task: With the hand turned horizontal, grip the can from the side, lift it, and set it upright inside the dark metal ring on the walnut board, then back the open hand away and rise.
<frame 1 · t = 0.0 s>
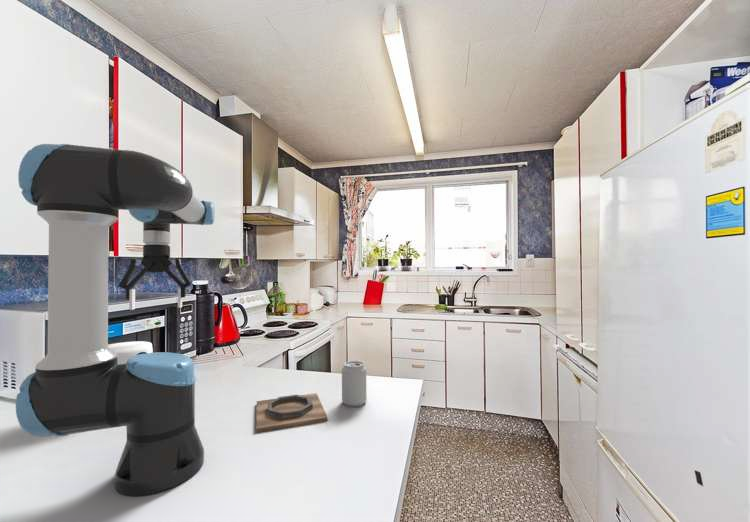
hand: (156, 308, 110), 28 cm above the worktop, tool pointing down, fingers open, 13 cm apart
can: (354, 403, 100), on the worktop
ring board: (290, 412, 94), on the worktop
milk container: (121, 408, 98), on the worktop
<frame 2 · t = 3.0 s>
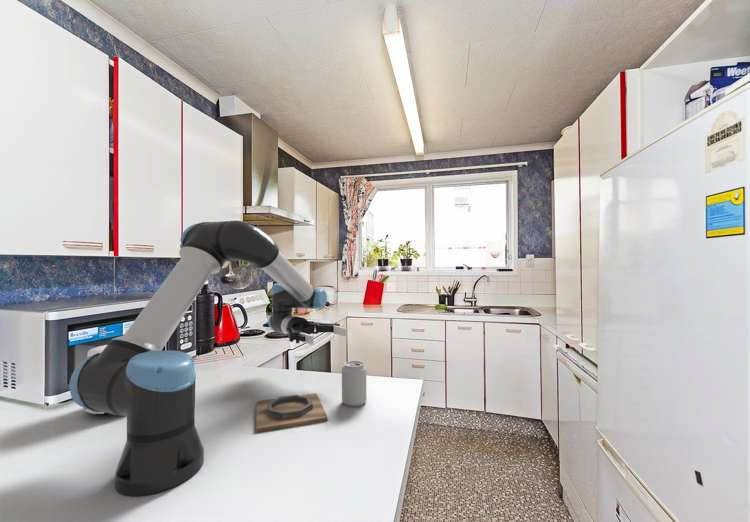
hand: (330, 336, 108), 19 cm above the worktop, tool horizontal, fingers open, 13 cm apart
nothing on the worktop moved.
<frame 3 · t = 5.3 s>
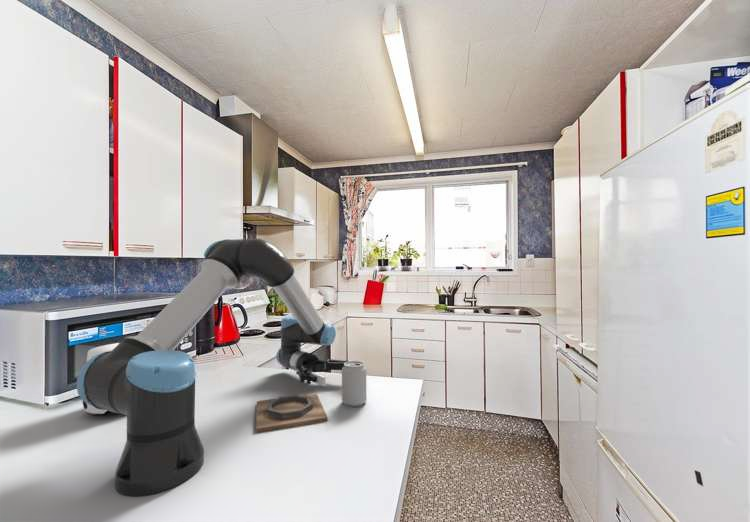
hand: (341, 376, 105), 6 cm above the worktop, tool horizontal, fingers open, 13 cm apart
nothing on the worktop moved.
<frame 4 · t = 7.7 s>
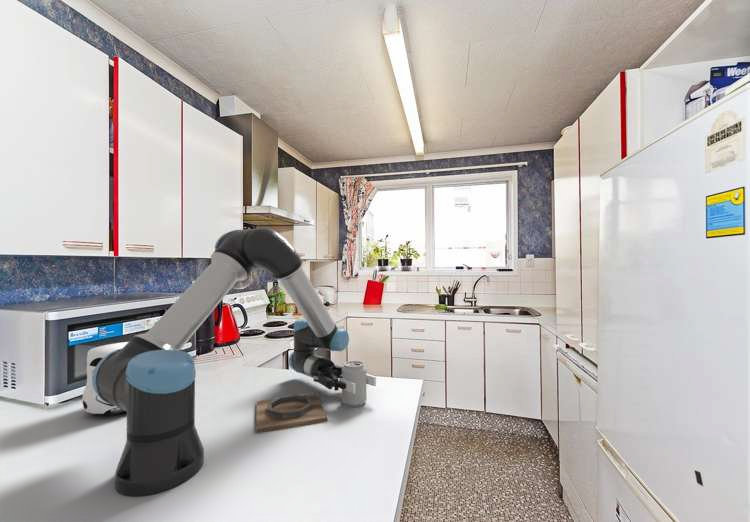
hand: (365, 384, 97), 7 cm above the worktop, tool horizontal, fingers closed on can, 7 cm apart
can: (354, 403, 100), on the worktop, touching gripper
everything else where it was.
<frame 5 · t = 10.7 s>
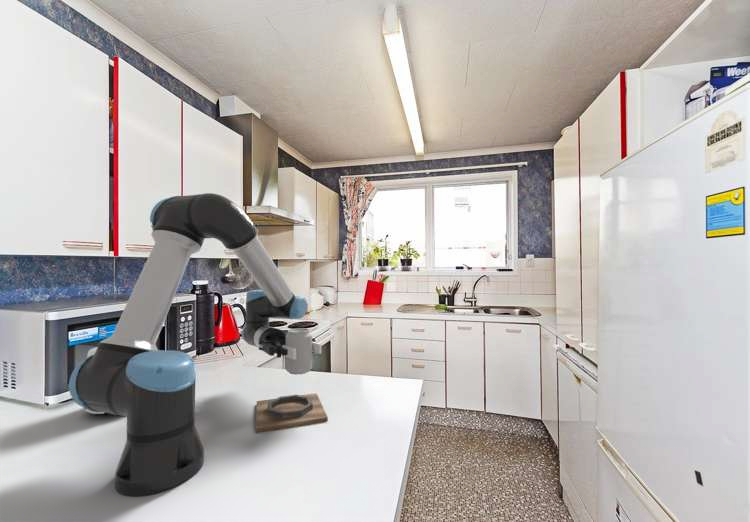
hand: (308, 351, 92), 18 cm above the worktop, tool horizontal, fingers closed on can, 7 cm apart
can: (299, 371, 95), point 11 cm above the worktop, touching gripper
everything else where it was.
when the fingers open (9 cm above the worktop, at t = 13.6 s): can drops 1 cm, resting on ring board.
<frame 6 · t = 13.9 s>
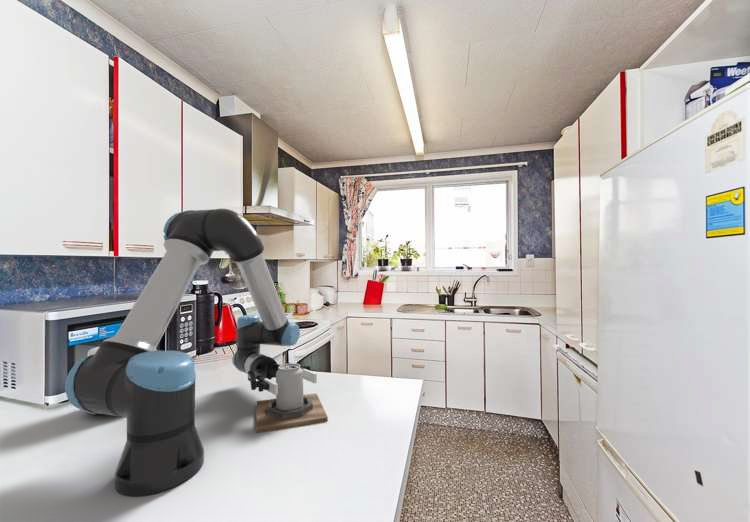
hand: (297, 383, 92), 9 cm above the worktop, tool horizontal, fingers open, 11 cm apart
can: (290, 408, 94), point 1 cm above the worktop, touching ring board
everything else where it was.
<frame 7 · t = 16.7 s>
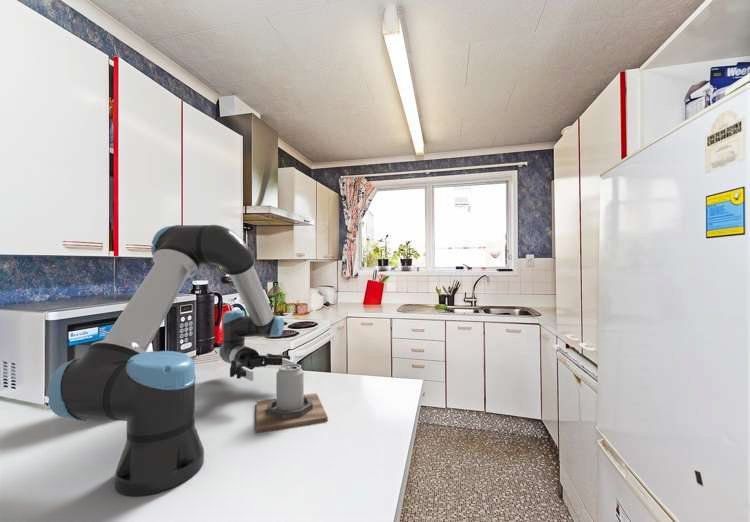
hand: (273, 370, 101), 10 cm above the worktop, tool horizontal, fingers open, 13 cm apart
nothing on the worktop moved.
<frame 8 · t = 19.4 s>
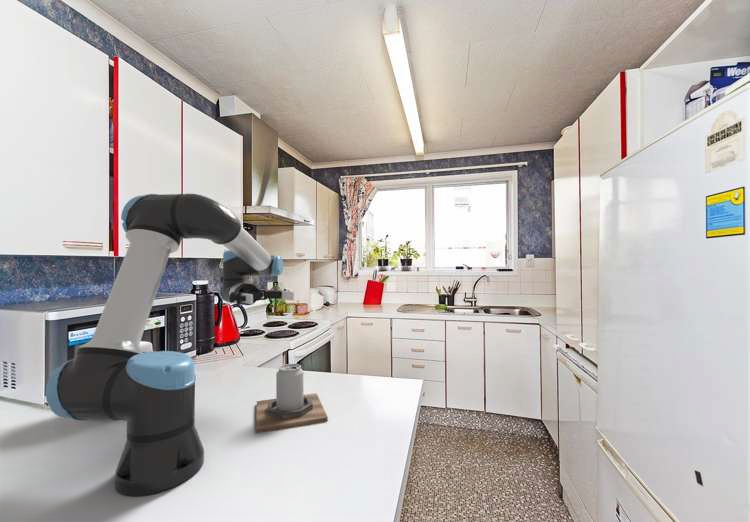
hand: (273, 297, 102), 32 cm above the worktop, tool horizontal, fingers open, 13 cm apart
nothing on the worktop moved.
at the end: can 0.1 cm off-centre on the ring board, point 0.8 cm above the ring board's base; can tilted 0°; the gripper is holding nothing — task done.
